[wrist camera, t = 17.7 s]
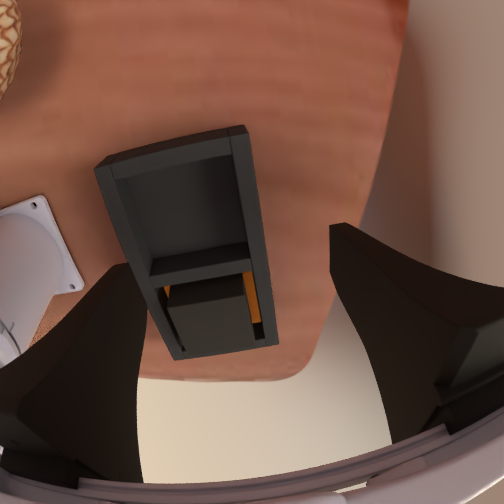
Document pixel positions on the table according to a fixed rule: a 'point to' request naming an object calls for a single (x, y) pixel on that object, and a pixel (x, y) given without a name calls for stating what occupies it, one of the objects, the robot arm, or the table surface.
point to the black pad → (212, 314)
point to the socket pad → (191, 223)
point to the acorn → (9, 42)
